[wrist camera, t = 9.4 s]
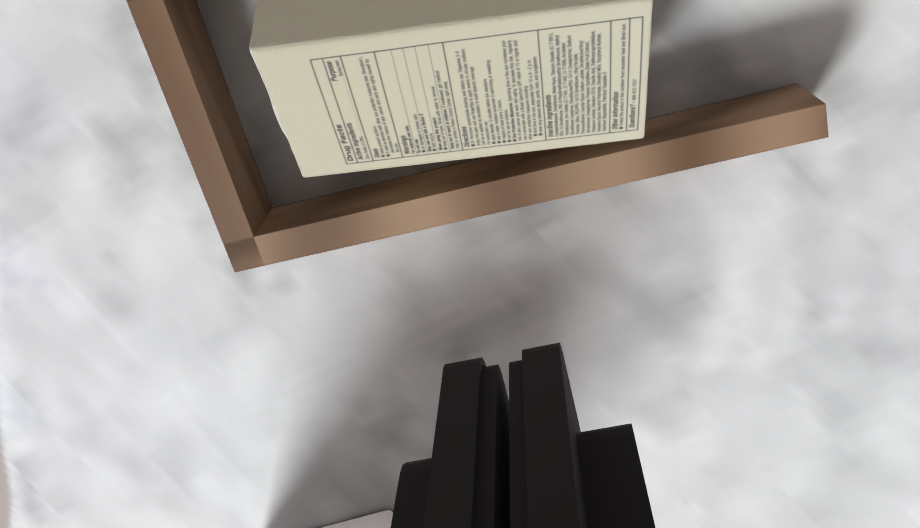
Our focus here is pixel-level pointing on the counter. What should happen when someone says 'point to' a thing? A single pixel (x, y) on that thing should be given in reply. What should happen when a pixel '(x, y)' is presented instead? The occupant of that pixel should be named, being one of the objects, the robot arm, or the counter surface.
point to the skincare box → (450, 77)
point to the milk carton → (367, 521)
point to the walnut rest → (437, 191)
